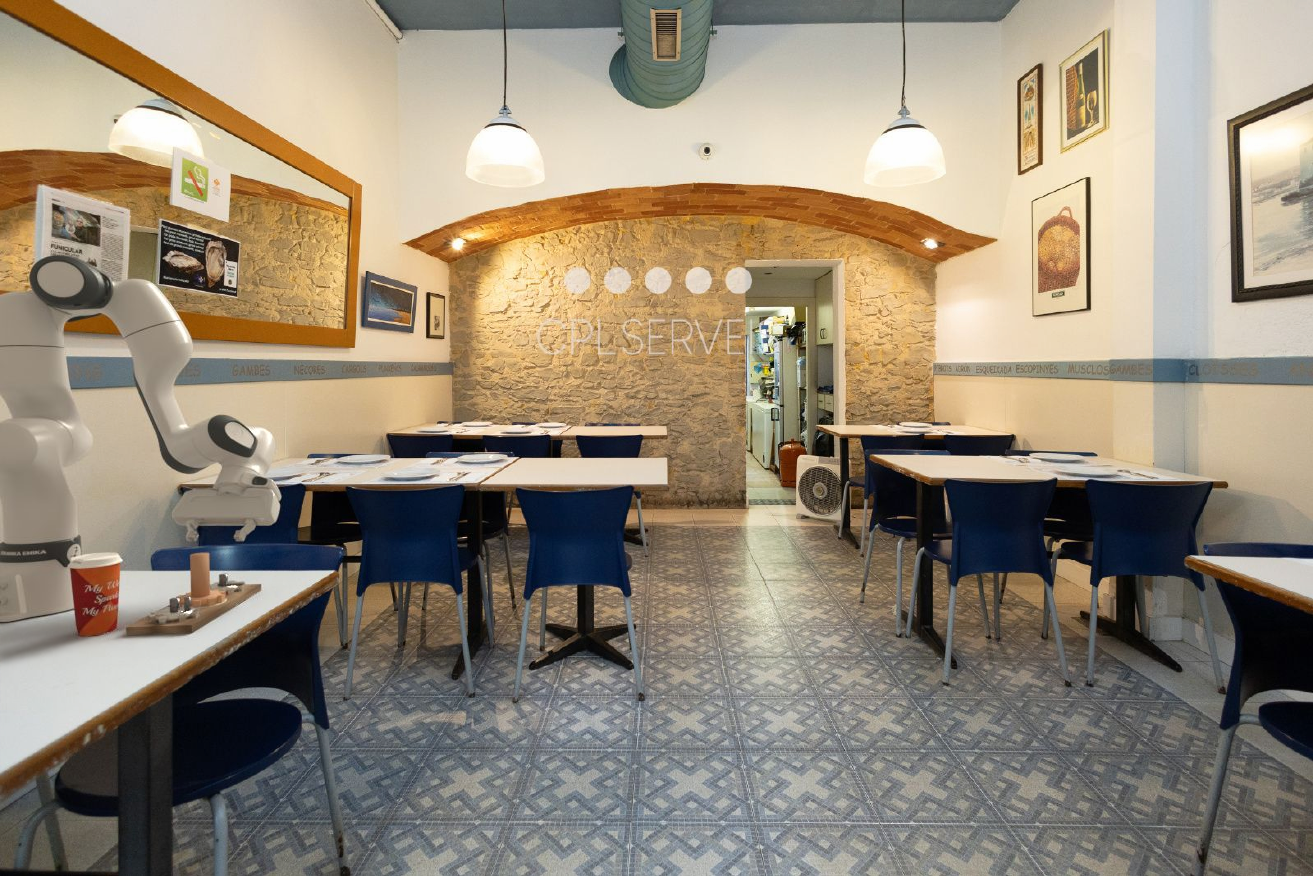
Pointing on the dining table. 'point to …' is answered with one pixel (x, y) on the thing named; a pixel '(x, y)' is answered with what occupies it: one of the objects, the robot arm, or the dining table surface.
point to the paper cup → (95, 592)
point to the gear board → (196, 623)
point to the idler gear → (202, 583)
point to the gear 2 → (227, 585)
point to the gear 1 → (175, 612)
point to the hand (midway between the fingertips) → (214, 539)
